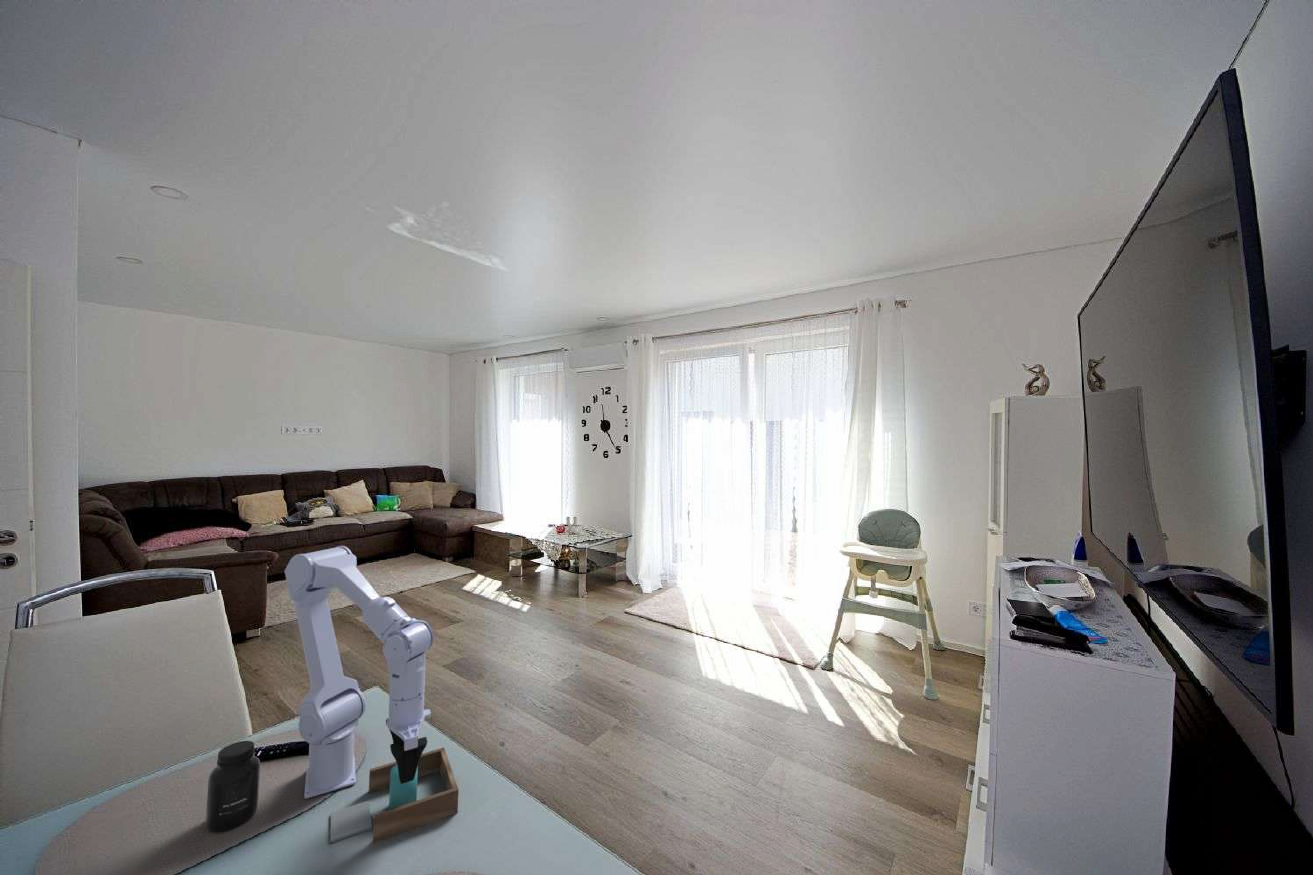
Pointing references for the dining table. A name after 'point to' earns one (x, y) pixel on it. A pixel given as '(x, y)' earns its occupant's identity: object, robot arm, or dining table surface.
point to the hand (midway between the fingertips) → (404, 768)
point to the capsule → (401, 790)
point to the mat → (350, 821)
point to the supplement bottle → (233, 788)
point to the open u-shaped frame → (420, 809)
